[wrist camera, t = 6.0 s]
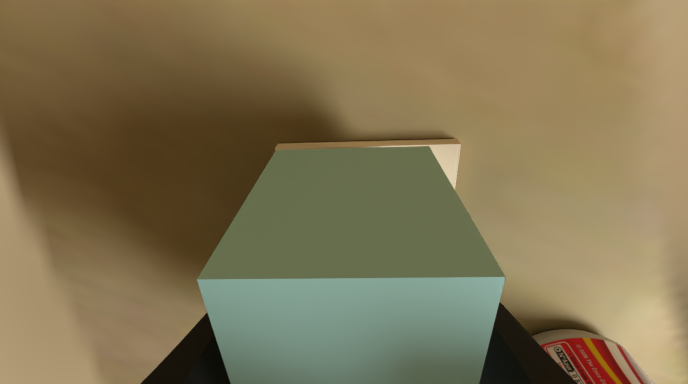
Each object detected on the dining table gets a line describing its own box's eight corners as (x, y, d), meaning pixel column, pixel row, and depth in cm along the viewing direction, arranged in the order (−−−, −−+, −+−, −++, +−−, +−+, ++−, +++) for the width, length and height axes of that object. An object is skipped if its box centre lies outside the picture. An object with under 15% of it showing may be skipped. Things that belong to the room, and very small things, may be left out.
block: (275, 150, 10) (196, 279, 5) (429, 146, 10) (505, 277, 5) (306, 362, 15) (281, 538, 10) (410, 362, 14) (439, 542, 9)
